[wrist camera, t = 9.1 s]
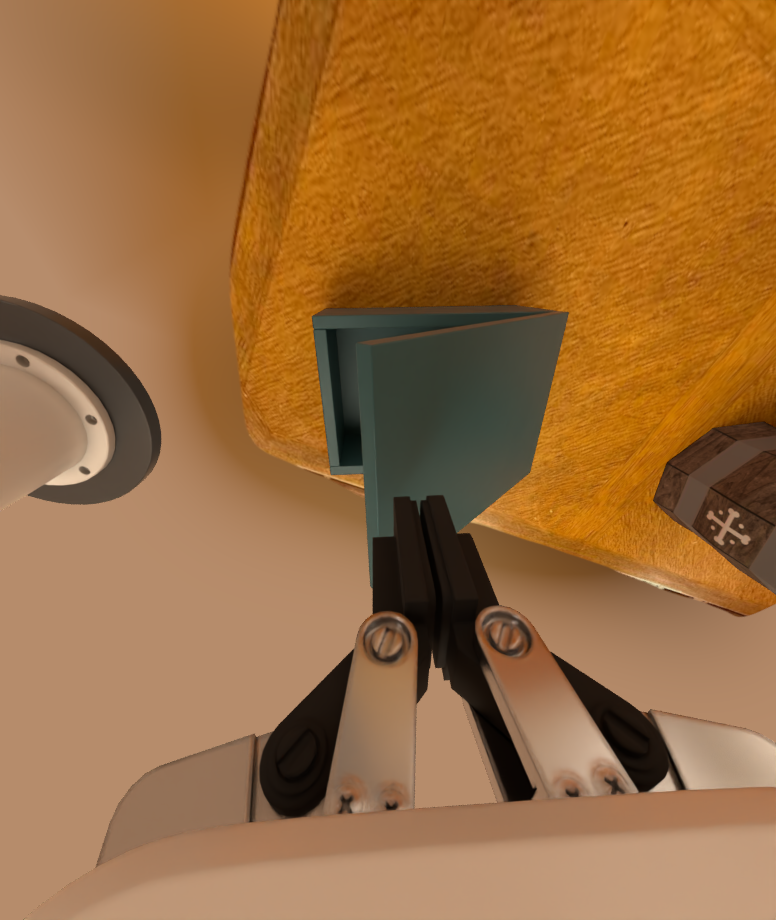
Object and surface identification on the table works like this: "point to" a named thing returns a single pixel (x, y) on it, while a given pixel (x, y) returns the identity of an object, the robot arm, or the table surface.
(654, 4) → the table surface
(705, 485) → the mug
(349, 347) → the box
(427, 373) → the lunchbox lid
